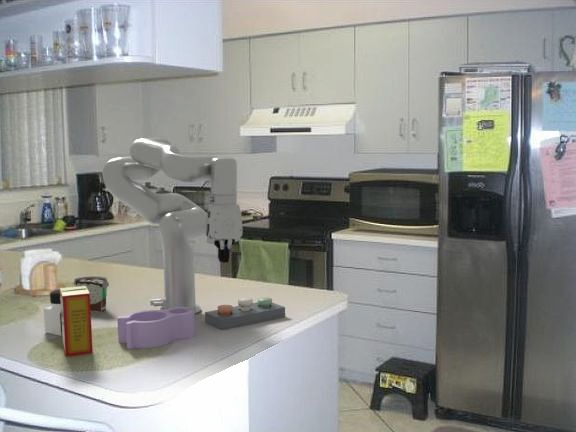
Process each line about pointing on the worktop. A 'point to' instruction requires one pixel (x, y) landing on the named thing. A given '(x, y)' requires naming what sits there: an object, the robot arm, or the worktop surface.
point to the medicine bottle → (53, 314)
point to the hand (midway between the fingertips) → (223, 261)
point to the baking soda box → (76, 320)
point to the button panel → (244, 316)
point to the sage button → (264, 302)
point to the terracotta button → (225, 309)
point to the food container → (95, 291)
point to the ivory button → (245, 304)
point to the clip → (155, 327)
